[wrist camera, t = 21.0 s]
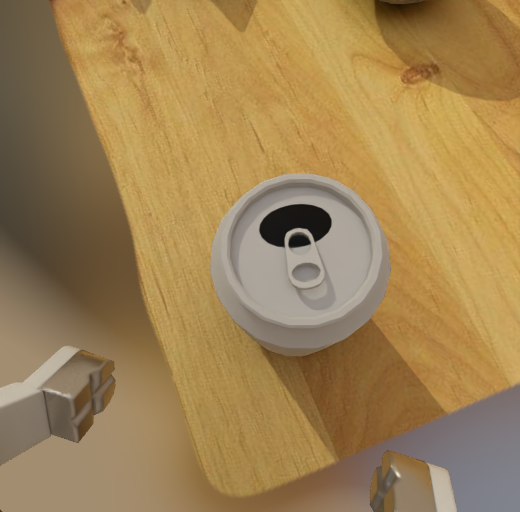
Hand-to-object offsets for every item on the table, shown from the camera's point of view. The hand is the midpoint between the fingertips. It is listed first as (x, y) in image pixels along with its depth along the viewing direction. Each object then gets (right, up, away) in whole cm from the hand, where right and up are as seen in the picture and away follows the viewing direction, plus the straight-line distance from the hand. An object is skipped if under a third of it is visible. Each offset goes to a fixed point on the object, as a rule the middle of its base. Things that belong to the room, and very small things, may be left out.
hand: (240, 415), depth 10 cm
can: (+3, +2, +15) cm, 15 cm away
